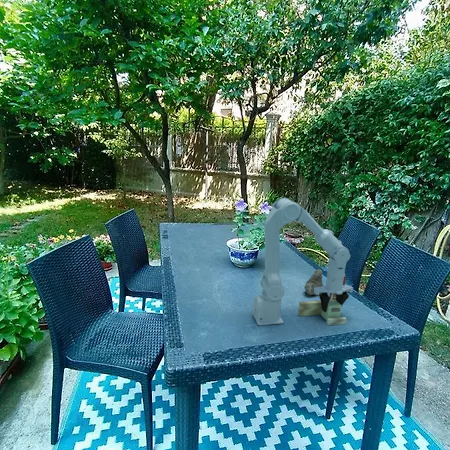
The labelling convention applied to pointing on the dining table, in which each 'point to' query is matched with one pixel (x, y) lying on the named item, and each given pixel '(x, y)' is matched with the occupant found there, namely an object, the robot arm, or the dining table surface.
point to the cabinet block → (332, 310)
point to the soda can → (333, 295)
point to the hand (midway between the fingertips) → (330, 310)
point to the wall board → (317, 312)
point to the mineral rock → (314, 282)
